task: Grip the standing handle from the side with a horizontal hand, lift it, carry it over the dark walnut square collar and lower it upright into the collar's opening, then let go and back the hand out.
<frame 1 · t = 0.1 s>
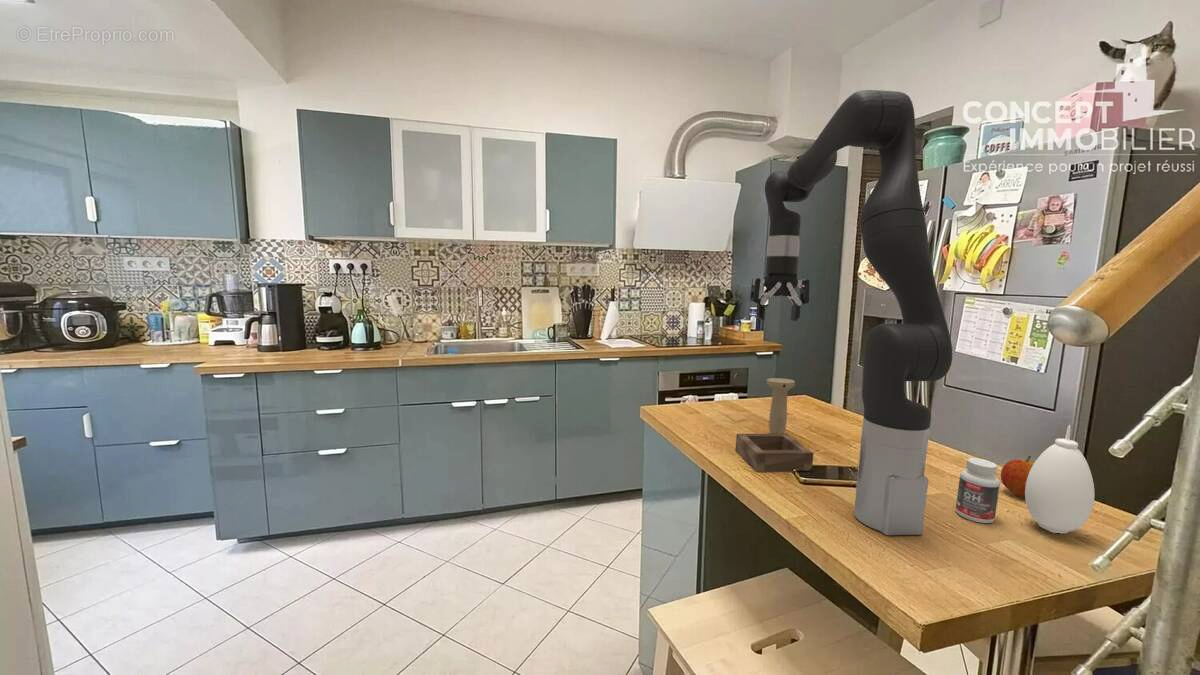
hand: (777, 320, 120), 29 cm above the kitchen island, tool pointing down, fingers open, 8 cm apart
white air blower bulb: (1052, 531, 78), on the kitchen island
handle: (776, 440, 118), on the kitchen island
pill bottle: (974, 517, 82), on the kitchen island
socket: (771, 460, 105), on the kitchen island
fruit: (1022, 496, 90), on the kitchen island
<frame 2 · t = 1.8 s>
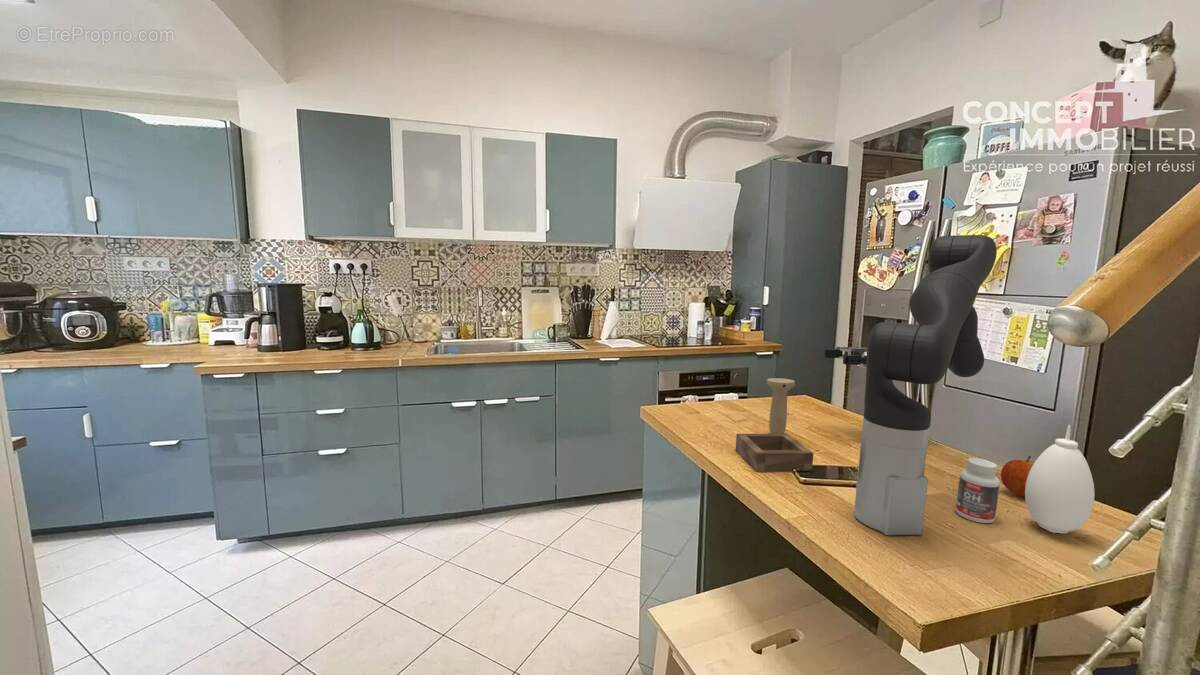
hand: (833, 356, 116), 21 cm above the kitchen island, tool horizontal, fingers open, 8 cm apart
nothing on the kitchen island moved.
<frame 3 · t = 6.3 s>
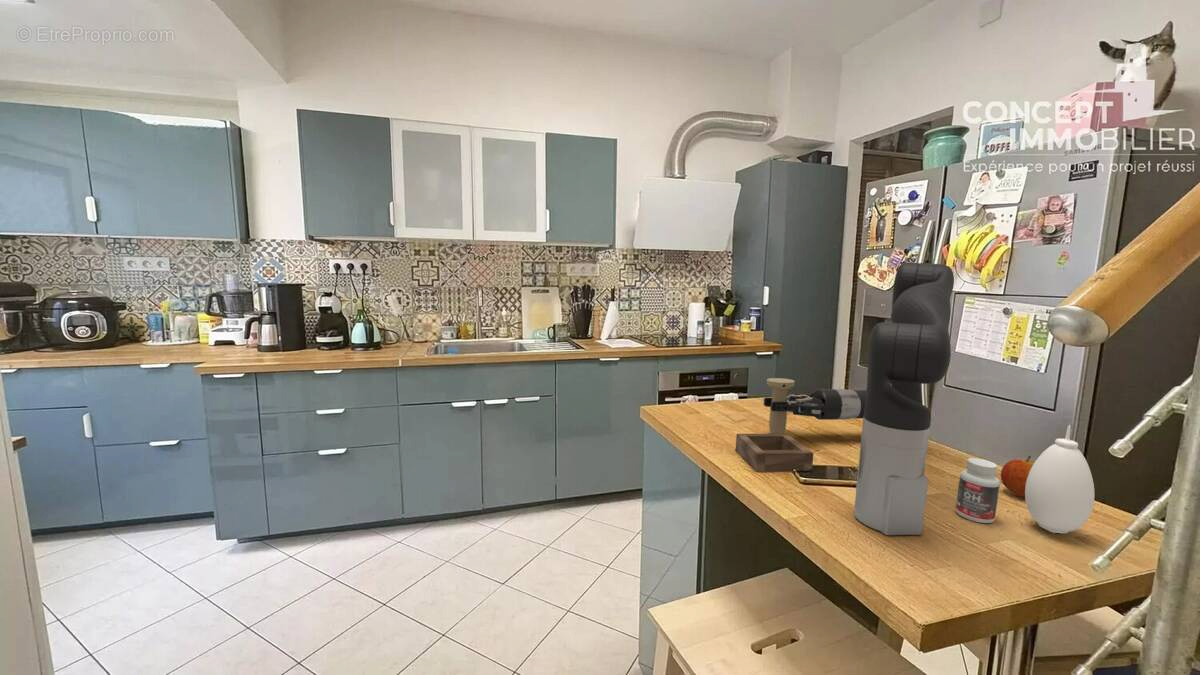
hand: (768, 404, 116), 9 cm above the kitchen island, tool horizontal, fingers closed on handle, 3 cm apart
handle: (776, 440, 118), on the kitchen island, touching gripper
everything else where it was.
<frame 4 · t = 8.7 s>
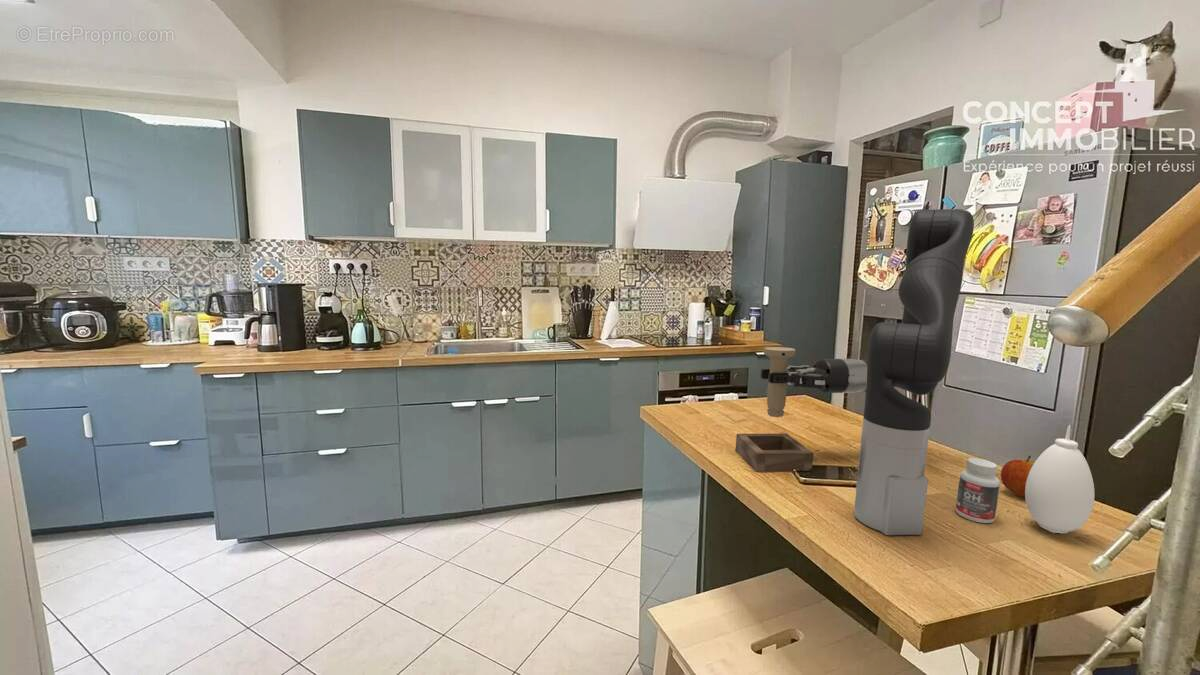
hand: (765, 375, 103), 19 cm above the kitchen island, tool horizontal, fingers closed on handle, 3 cm apart
handle: (775, 416, 105), point 9 cm above the kitchen island, touching gripper
everything else where it was.
when the fingers open (10 cm above the kitchen island, at t = 11.3 s): handle drops 1 cm, resting in socket.
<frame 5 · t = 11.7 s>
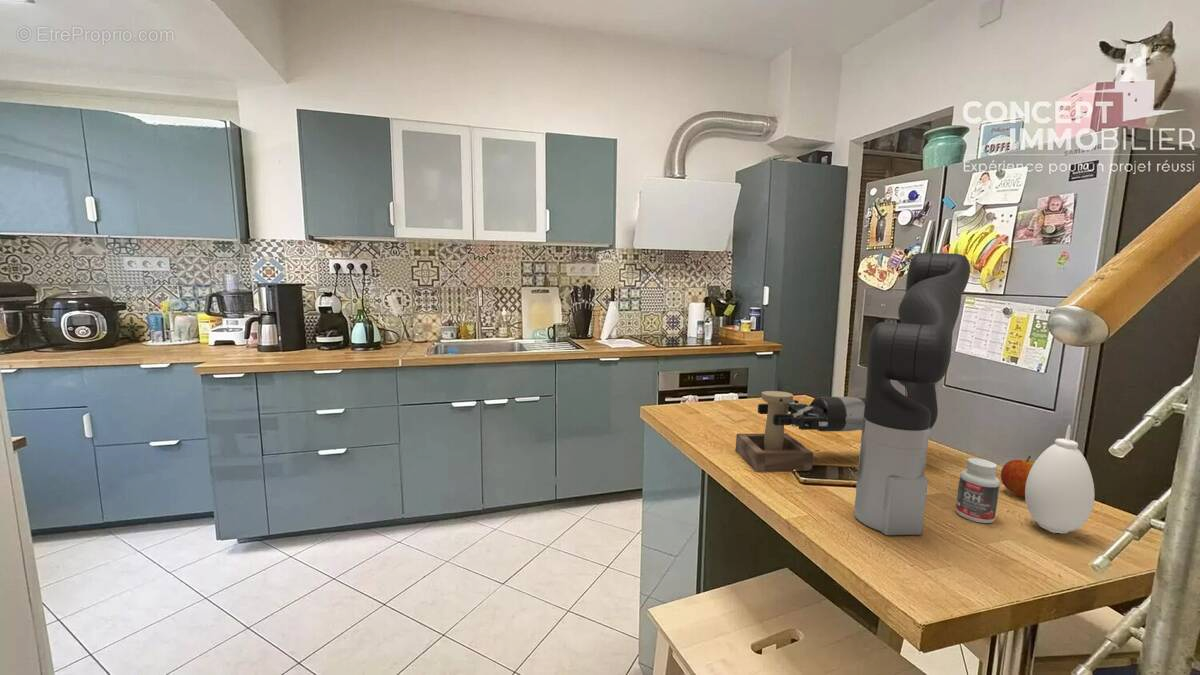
hand: (765, 414, 103), 11 cm above the kitchen island, tool horizontal, fingers open, 7 cm apart
handle: (772, 460, 105), resting in socket
everything else where it was.
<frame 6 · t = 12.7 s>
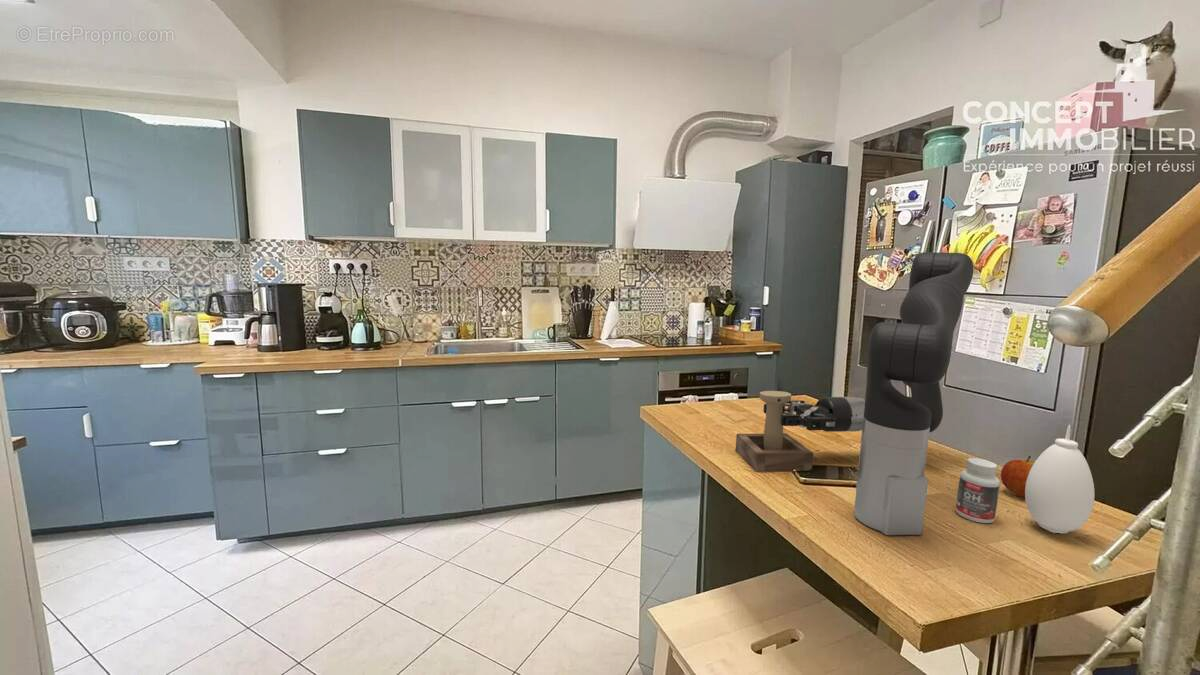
hand: (772, 414, 103), 10 cm above the kitchen island, tool horizontal, fingers open, 8 cm apart
nothing on the kitchen island moved.
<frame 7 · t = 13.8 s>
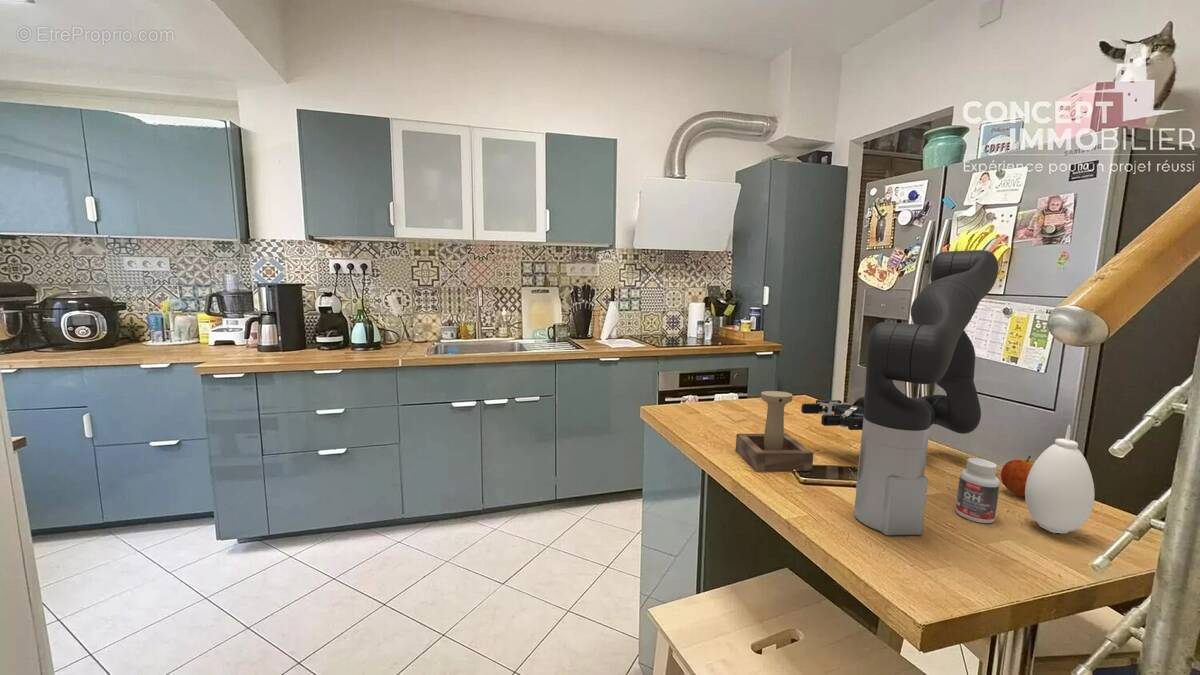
hand: (811, 414, 104), 10 cm above the kitchen island, tool horizontal, fingers open, 8 cm apart
nothing on the kitchen island moved.
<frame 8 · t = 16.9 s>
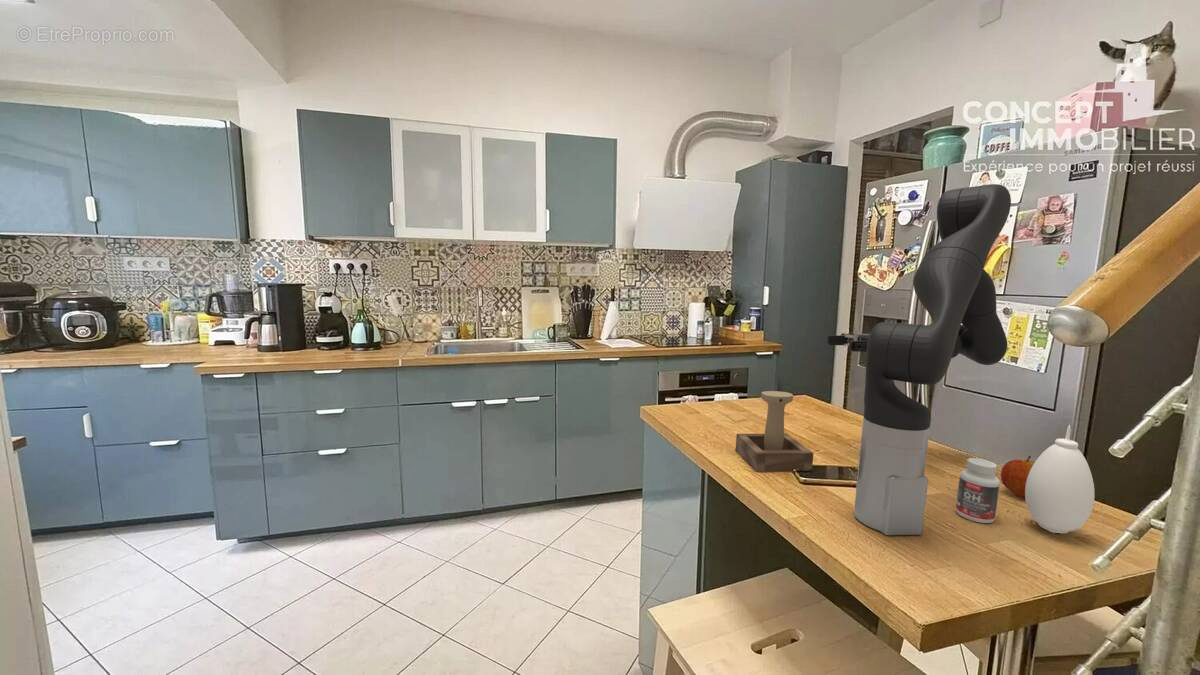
hand: (838, 343, 104), 26 cm above the kitchen island, tool horizontal, fingers open, 8 cm apart
nothing on the kitchen island moved.
at the end: handle 0.2 cm off-centre on the socket, point 0.0 cm above the socket's base; handle tilted 0°; the gripper is holding nothing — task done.
